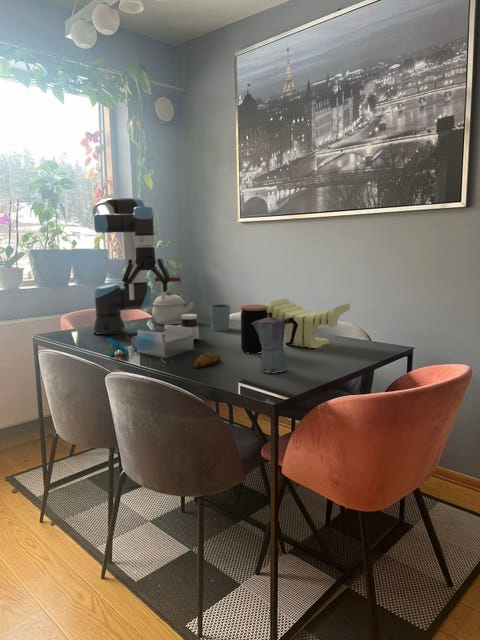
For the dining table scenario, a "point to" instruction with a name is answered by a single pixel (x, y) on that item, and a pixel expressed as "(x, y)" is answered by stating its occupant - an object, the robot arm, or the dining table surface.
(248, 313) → the coffee jar
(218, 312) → the teal tumbler cup
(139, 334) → the storage box
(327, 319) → the beige slatted piece
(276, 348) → the moka pot
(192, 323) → the spread jar
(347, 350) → the dining table surface
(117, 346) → the blue irregular piece
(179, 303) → the kettle
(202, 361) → the croissant
